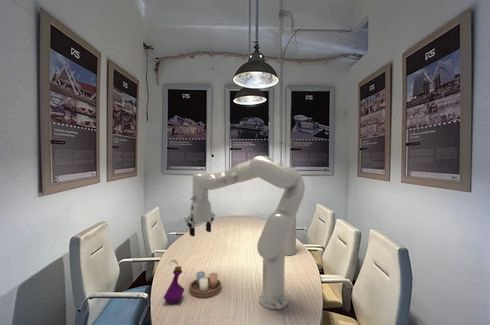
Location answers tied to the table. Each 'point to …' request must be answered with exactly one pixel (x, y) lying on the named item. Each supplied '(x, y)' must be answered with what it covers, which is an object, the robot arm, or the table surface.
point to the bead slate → (200, 276)
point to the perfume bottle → (174, 287)
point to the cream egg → (203, 284)
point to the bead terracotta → (213, 280)
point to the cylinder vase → (291, 240)
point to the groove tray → (195, 292)
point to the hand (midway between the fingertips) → (200, 233)
